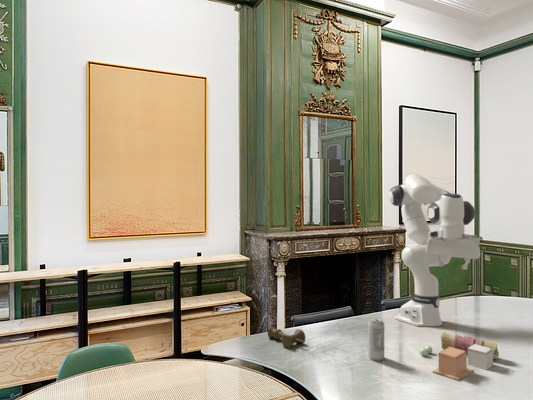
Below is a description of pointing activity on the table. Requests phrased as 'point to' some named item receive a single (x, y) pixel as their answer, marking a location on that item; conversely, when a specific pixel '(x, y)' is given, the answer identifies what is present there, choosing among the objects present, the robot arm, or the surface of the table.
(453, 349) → the pink paneled box
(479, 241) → the robot arm
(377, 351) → the energy drink can
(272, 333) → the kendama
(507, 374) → the table surface
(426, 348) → the marble
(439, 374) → the cork pad
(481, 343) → the scroll
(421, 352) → the marble
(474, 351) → the off-white bevelled cube
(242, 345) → the table surface
